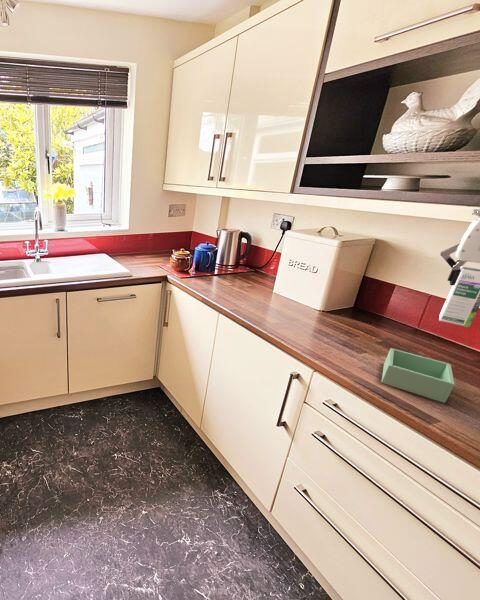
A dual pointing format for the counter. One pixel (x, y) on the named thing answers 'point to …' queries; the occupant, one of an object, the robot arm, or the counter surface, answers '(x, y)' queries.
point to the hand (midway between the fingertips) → (469, 286)
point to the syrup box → (463, 298)
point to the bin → (418, 375)
